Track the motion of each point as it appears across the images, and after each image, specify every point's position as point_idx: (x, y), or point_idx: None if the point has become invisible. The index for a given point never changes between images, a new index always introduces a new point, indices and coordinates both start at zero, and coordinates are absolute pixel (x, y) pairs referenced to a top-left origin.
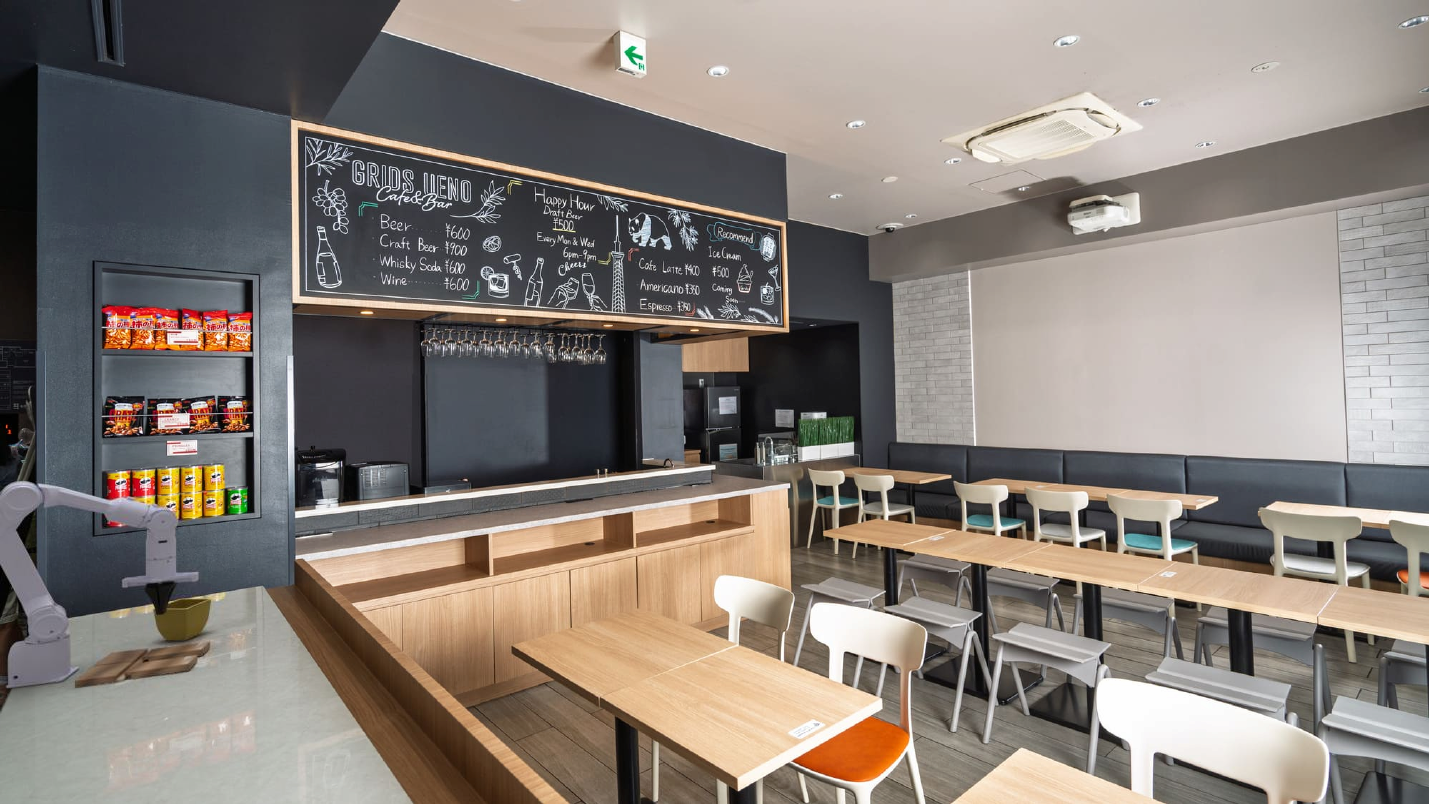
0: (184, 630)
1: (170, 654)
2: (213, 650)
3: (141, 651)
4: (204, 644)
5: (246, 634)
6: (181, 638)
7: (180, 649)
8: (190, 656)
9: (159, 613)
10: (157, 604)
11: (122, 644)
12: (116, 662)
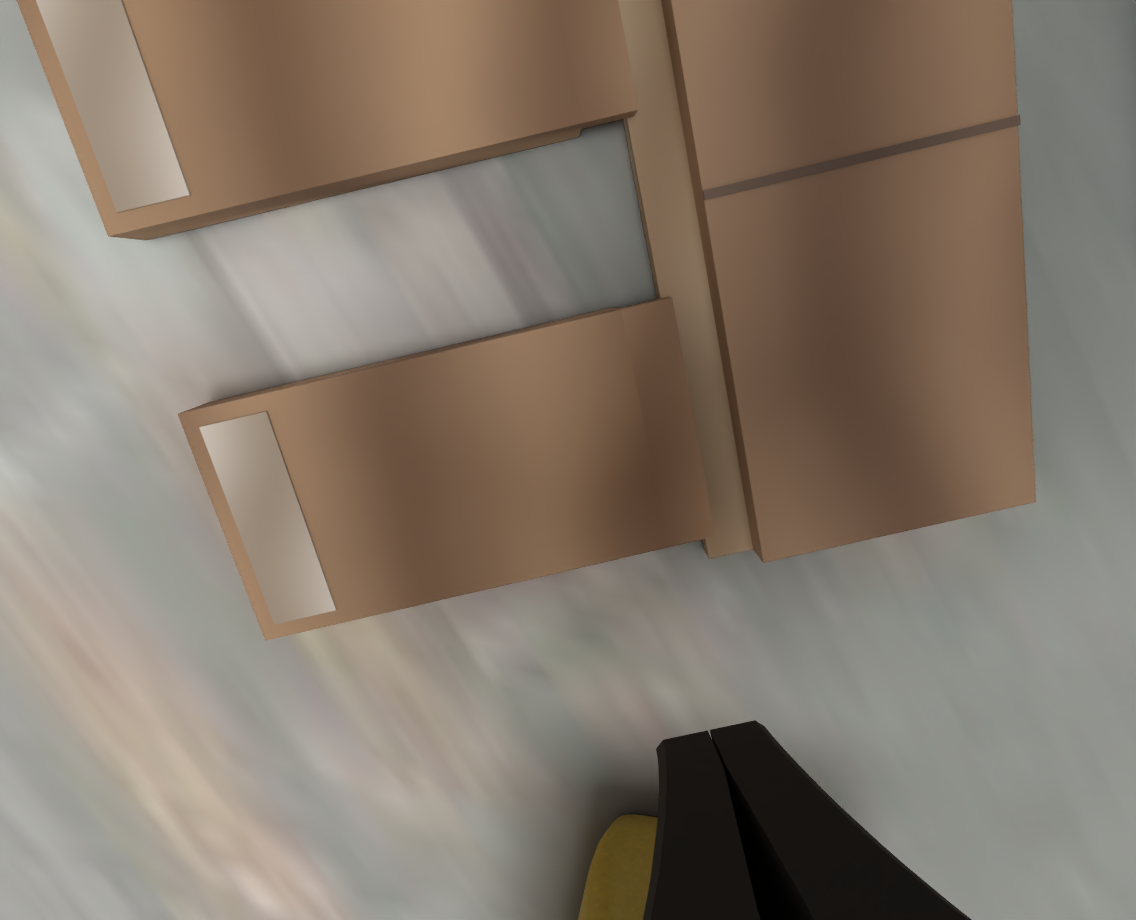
0: (608, 857)
1: (442, 351)
2: (220, 548)
3: (773, 480)
4: (254, 554)
5: (198, 887)
6: (645, 822)
7: (417, 462)
8: (141, 188)
9: (716, 740)
10: (798, 863)
11: (1071, 806)
12: (846, 185)
